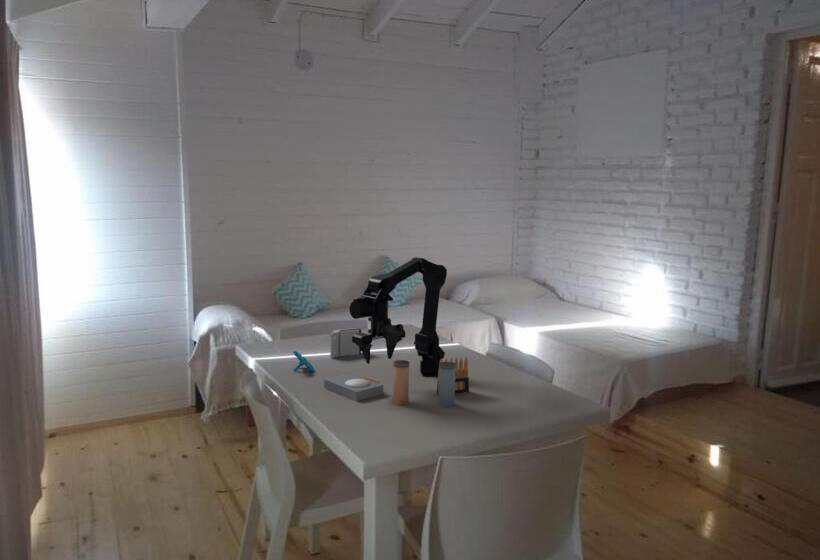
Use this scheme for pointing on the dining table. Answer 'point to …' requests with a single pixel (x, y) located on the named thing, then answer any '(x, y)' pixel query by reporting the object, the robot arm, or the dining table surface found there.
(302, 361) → the gear
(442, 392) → the cylinder
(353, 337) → the robot arm
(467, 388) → the ammunition clip
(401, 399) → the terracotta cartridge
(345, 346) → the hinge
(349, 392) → the dock unit
